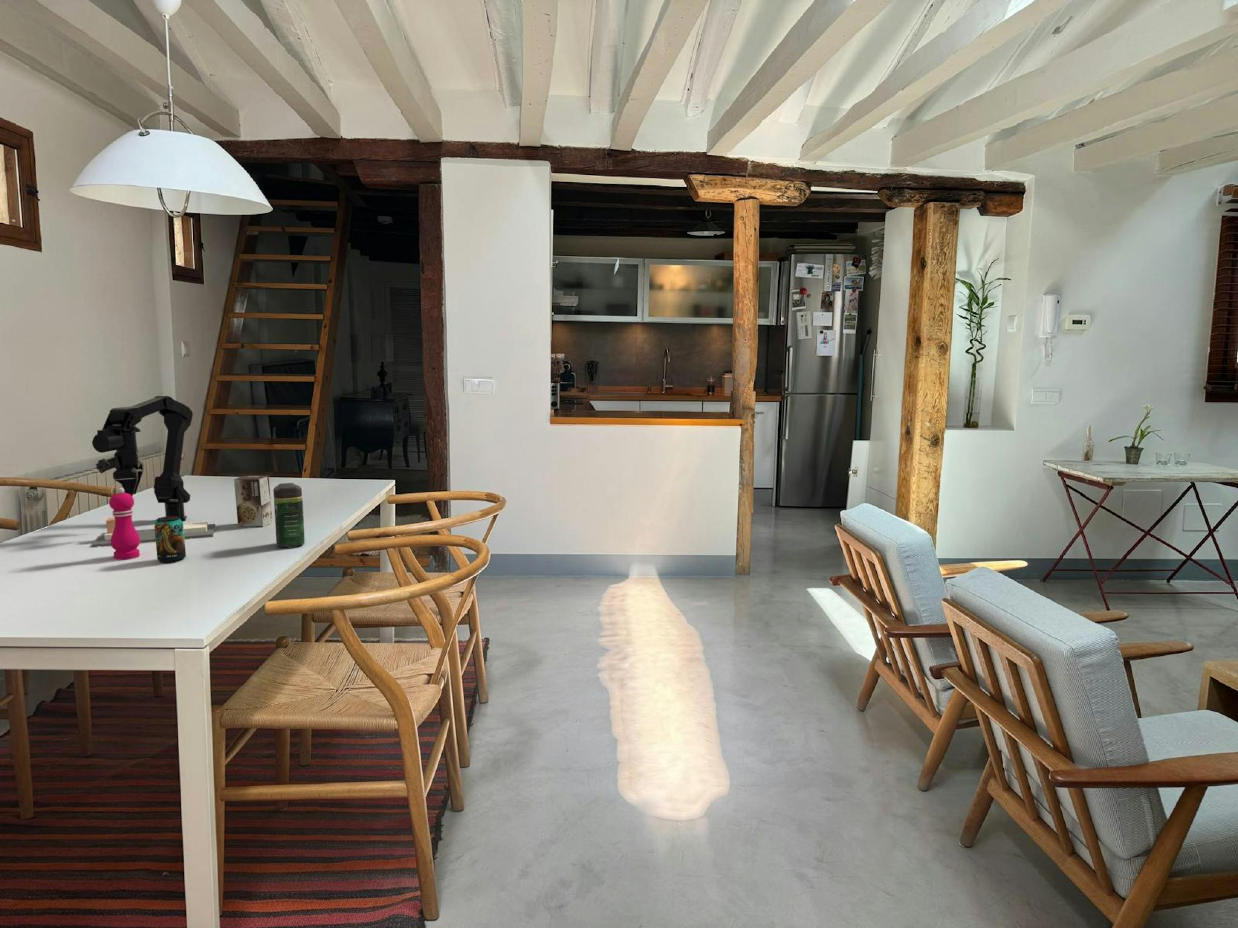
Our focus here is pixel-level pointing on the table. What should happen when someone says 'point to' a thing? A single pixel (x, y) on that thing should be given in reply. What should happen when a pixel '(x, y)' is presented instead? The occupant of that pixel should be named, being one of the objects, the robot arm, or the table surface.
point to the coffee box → (253, 500)
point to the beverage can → (170, 539)
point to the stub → (109, 528)
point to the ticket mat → (149, 534)
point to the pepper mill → (124, 527)
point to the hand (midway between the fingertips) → (131, 496)
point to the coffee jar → (289, 515)
